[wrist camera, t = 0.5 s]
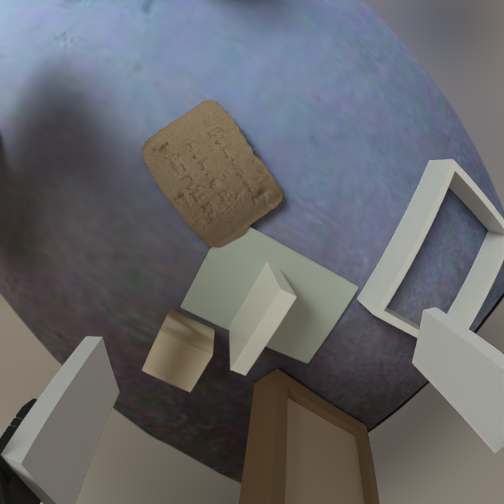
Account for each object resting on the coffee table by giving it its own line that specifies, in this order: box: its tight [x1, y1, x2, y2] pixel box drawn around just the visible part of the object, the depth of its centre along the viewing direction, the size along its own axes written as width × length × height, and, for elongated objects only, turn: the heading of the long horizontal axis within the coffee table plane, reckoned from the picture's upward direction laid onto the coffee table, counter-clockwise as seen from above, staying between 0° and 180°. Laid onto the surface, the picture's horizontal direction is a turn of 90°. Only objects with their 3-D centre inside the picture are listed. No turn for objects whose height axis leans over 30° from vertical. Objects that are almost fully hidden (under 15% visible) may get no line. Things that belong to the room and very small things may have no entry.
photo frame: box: [239, 368, 379, 504], centre depth 28 cm, size 15×22×25 cm
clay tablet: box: [142, 100, 283, 247], centre depth 29 cm, size 14×10×3 cm
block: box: [142, 308, 215, 392], centre depth 32 cm, size 6×6×6 cm
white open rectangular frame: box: [357, 159, 504, 338], centre depth 33 cm, size 18×21×5 cm
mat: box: [181, 227, 359, 364], centre depth 34 cm, size 18×12×1 cm, turn 61°
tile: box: [229, 262, 296, 376], centre depth 30 cm, size 2×9×9 cm, turn 151°
